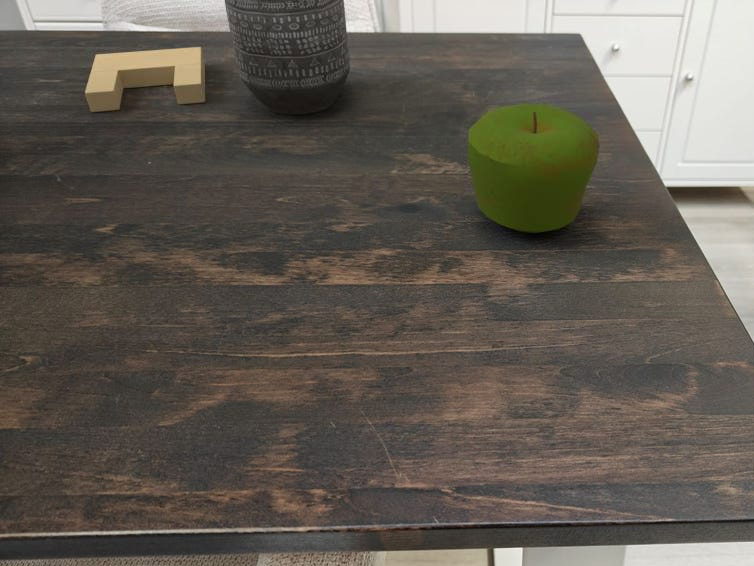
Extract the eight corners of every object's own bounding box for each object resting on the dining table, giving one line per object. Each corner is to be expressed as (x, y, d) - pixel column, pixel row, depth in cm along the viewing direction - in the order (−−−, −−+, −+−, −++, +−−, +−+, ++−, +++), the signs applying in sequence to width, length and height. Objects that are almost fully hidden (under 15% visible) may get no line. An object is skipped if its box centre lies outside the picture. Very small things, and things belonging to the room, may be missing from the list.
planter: (227, 94, 100) (201, -28, 90) (322, 72, 106) (308, -44, 96) (273, 132, 91) (250, 2, 81) (373, 105, 98) (363, -18, 88)
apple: (448, 232, 75) (446, 124, 67) (495, 179, 83) (499, 78, 76) (565, 262, 71) (577, 152, 64) (603, 204, 80) (618, 101, 72)
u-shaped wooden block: (91, 112, 95) (84, 93, 93) (101, 72, 105) (95, 54, 103) (205, 102, 98) (201, 83, 96) (204, 64, 108) (201, 46, 106)
